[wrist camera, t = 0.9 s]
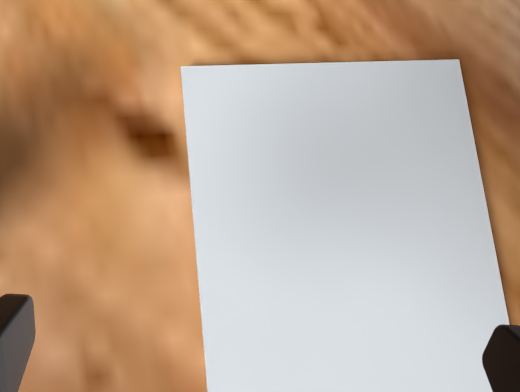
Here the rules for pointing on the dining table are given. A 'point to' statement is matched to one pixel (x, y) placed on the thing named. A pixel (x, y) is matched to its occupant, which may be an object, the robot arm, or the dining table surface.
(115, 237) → the dining table surface
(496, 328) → the robot arm
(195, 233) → the ceramic tile
